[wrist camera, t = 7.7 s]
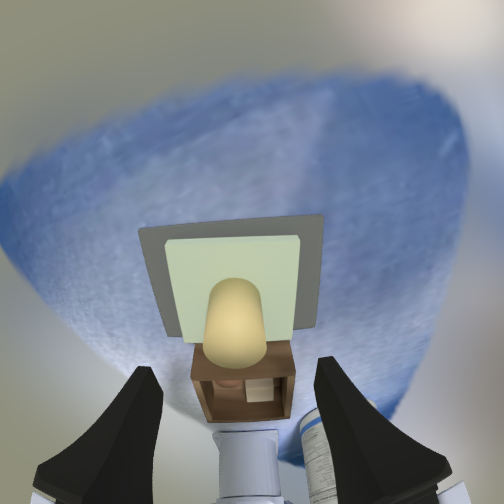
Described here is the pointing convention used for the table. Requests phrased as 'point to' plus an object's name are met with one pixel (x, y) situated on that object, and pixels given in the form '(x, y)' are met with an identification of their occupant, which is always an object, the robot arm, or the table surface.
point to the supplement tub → (318, 459)
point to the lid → (234, 293)
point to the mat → (300, 225)
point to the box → (246, 386)
